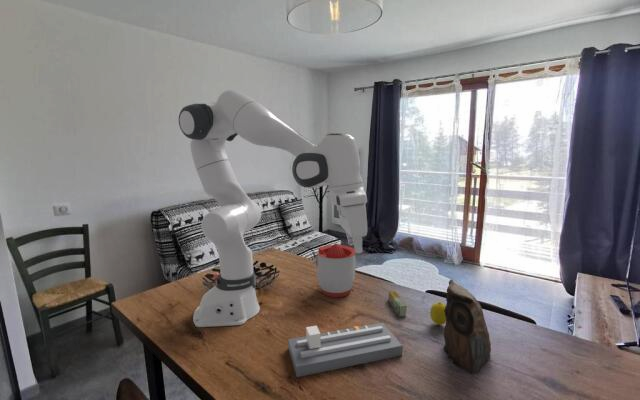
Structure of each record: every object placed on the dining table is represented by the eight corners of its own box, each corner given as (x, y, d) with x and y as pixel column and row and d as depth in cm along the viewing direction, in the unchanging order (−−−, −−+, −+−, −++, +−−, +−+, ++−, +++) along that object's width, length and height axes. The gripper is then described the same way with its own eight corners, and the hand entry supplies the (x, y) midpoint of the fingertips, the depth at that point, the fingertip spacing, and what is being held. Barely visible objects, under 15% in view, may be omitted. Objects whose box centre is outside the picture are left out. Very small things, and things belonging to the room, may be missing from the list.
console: (296, 377, 82) (296, 363, 81) (288, 348, 93) (287, 335, 93) (402, 355, 90) (402, 342, 89) (382, 331, 101) (382, 319, 101)
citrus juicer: (315, 281, 138) (314, 236, 134) (356, 283, 135) (356, 238, 132) (309, 299, 122) (308, 249, 119) (354, 301, 120) (355, 250, 117)
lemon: (449, 330, 101) (450, 307, 100) (430, 329, 102) (432, 305, 101) (446, 321, 106) (447, 298, 105) (428, 319, 107) (429, 297, 106)
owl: (474, 378, 81) (480, 305, 77) (428, 355, 90) (431, 288, 86) (493, 355, 89) (499, 288, 85) (448, 336, 98) (452, 274, 95)
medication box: (406, 316, 110) (407, 305, 109) (398, 317, 110) (399, 306, 109) (394, 300, 122) (395, 290, 121) (387, 300, 121) (388, 290, 121)
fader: (309, 352, 86) (309, 335, 85) (306, 343, 90) (306, 327, 89) (320, 350, 87) (320, 333, 86) (316, 341, 91) (316, 325, 90)
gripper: (331, 195, 92) (338, 242, 93) (340, 200, 72) (349, 260, 73) (352, 192, 93) (359, 239, 94) (368, 195, 72) (376, 255, 73)
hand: (355, 248), depth 83 cm, fingers open, 8 cm apart
